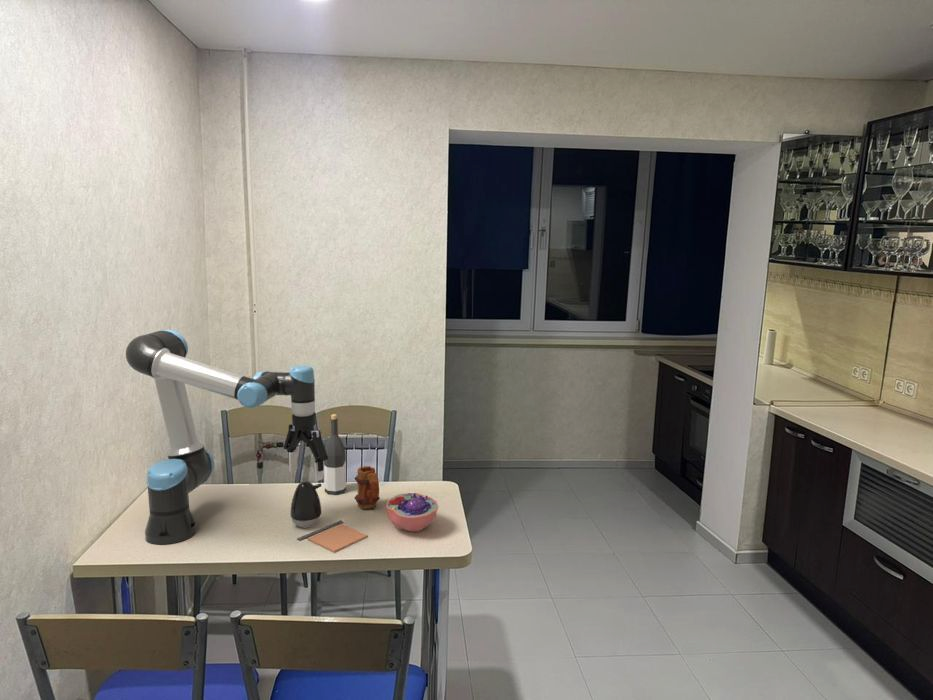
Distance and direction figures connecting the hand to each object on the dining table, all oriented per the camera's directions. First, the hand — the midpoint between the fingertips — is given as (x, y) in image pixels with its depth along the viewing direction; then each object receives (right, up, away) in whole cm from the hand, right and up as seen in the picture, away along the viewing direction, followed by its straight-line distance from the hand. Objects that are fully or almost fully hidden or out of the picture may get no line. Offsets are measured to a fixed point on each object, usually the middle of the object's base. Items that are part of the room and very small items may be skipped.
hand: (306, 475), depth 217 cm
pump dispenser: (-1, -17, +3) cm, 18 cm away
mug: (+19, -15, +16) cm, 29 cm away
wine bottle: (+3, -12, +32) cm, 34 cm away
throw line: (+5, -18, -1) cm, 19 cm away
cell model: (+35, -18, +3) cm, 39 cm away
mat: (+12, -19, -7) cm, 24 cm away
